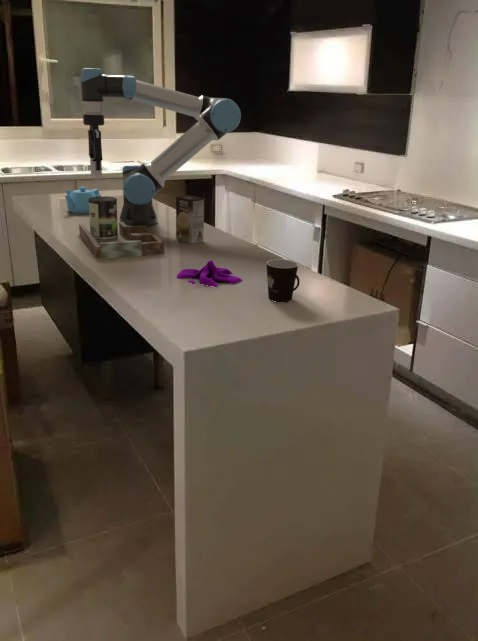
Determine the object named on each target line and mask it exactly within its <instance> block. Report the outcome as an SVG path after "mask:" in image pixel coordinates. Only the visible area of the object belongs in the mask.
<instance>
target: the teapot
mask: <svg viewBox="0 0 478 641" xmlns="http://www.w3.org/2000/svg"><path fill="white" fill-rule="evenodd" d="M65 192H66V195H64V197H65V200H66V203H67V204H66V205H67V206H66V208H67V210H68V211H69V212H70V213H71V212H72V213H71V214H75V215H76V214H77V215H89V201H88V198H91V197H102V194H100V192H99V189H98V188H94V189H92V190H90V189H87V187H86V186H80V187H79V189H75V190H73V191H72V190H71V189H66V190H65Z"/></svg>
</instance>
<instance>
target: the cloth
mask: <svg viewBox="0 0 478 641" xmlns="http://www.w3.org/2000/svg"><path fill="white" fill-rule="evenodd" d="M229 274H232V275H229ZM188 278H192V279H188ZM176 279H177V280H178V279H179V280H182V279H188V280H187V282H188V283H189V282H190V283H192V284H191V285H193V284H195V283H196V281H195V280H198V281H199V283H200V284H199V283H198V284H199V285H201V284H204V285H203V286H205V285H208V286H214V287H217V286H219V284H217V282H215V281H219V282H220V283H225V282H226V284H229V283H231V284H230V285H235V284H238V283H240V282H242V281H243V279H242V278H241V277H239V276H236V275H233V273H232V271H231V270H230V269H228V268H226V267H217V265H216V264H215V263H214V260H212V259H210V260H208V261H207V263H206V264H205V265H204V266H203V267H201V268H200V269H197V268H184V269H181V270H180V271H179V272H178V274H177V275H176ZM194 281H195V282H194ZM237 282H238V283H237ZM190 283H189V284H190ZM234 283H235V284H234ZM195 285H196V284H195ZM208 286H207V287H208ZM214 287H213V288H214ZM217 288H218V287H217Z"/></svg>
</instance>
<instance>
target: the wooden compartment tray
mask: <svg viewBox="0 0 478 641" xmlns="http://www.w3.org/2000/svg"><path fill="white" fill-rule="evenodd" d="M78 225H79V226H78V230H79V231H78V232H79V235H80V237H81V239H82V240H83V242H84V243H85V244H86V246H87V248H89V250H90V252H91V253H92V254H93V256H94V258H95V259H96V260H102V259H115V258H117V259H118V258H132V257H133V256H134V257H145V256H150V255H164V254H165V242H164V241H163V240H162V239H161V238H160V237H159V236H157V235H156V234H155V233H154V232H153V231H151V229H149V228H148V227H147V226H145V225H139V226H129V225H126V224H125V223H124V222H120V221H119V222H118V228H119V229H118V233H119V234H120V235H121V236H122V237H123V238H127V239H128V238H130V240H124V241H108V242H107V241H106V242H104V241H103V242H98V241H97V239H94V237H93V236H92V235H91V233H90V230H88V229H87V227H86V226H85V224H84V223H79V224H78Z"/></svg>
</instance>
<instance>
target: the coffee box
mask: <svg viewBox="0 0 478 641" xmlns="http://www.w3.org/2000/svg"><path fill="white" fill-rule="evenodd" d="M175 222H176V223H175V240H177V241H181V242H184V243H188V244H191V245H192V244H193V243H194V244H197V243H202V242H204V236H205V235H204V231H205V230H204V229H205V228H204V227H205V224H204V223H205V198H203V197H199V196H195V195H191V194H185V195H179V196H176V197H175ZM194 244H193V245H194Z"/></svg>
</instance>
